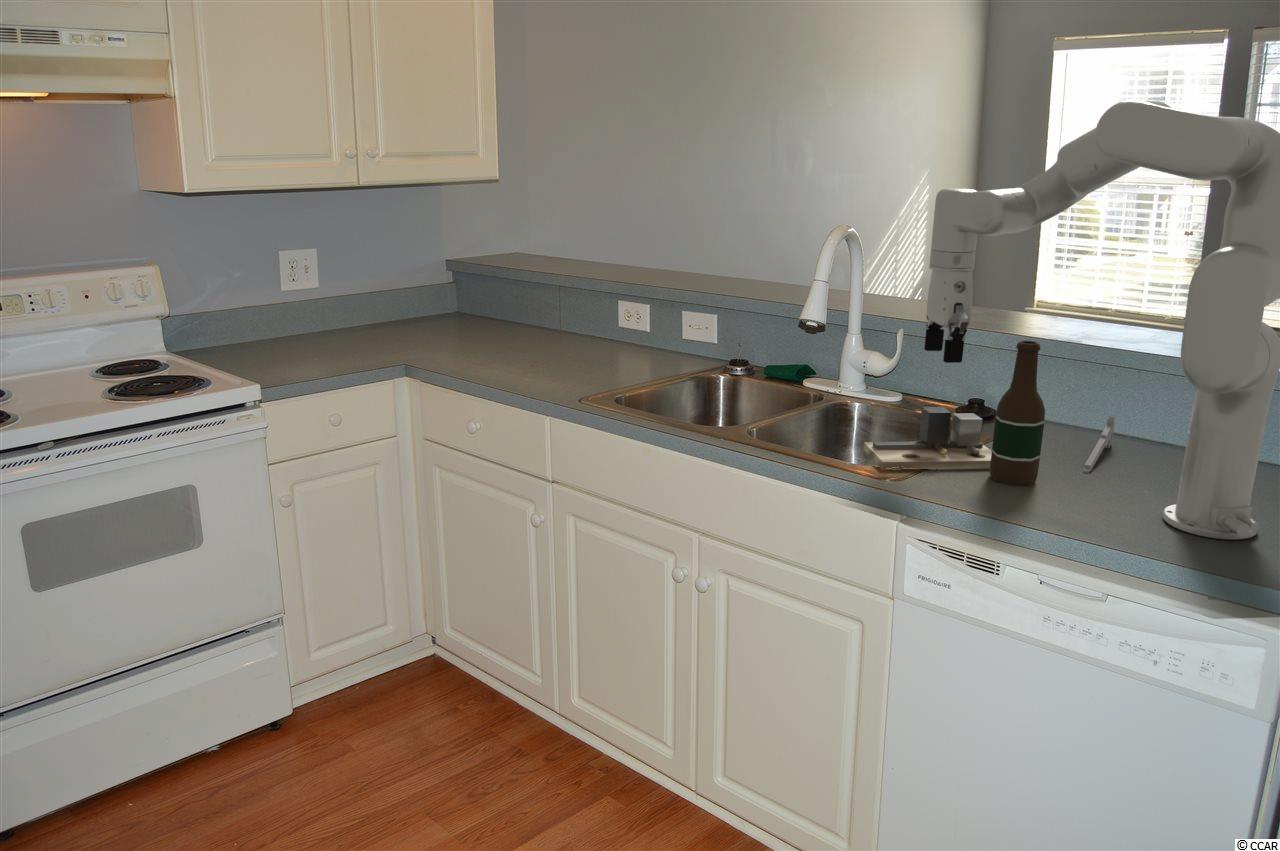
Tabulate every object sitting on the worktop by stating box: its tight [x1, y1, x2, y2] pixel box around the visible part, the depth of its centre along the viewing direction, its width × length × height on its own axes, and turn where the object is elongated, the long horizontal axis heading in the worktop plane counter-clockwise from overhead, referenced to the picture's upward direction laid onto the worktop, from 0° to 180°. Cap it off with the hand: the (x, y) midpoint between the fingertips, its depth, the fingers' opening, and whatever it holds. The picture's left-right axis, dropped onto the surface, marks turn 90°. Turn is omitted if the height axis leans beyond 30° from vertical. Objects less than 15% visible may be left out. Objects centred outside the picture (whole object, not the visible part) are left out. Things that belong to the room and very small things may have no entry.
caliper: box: [1082, 416, 1116, 474], centre depth 183 cm, size 20×1×6 cm, turn 145°
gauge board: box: [862, 412, 992, 471], centre depth 182 cm, size 12×22×7 cm, turn 94°
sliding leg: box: [918, 406, 952, 455], centre depth 182 cm, size 8×4×7 cm, turn 4°
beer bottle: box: [989, 340, 1046, 487], centre depth 169 cm, size 8×8×24 cm
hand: (942, 356), depth 180 cm, fingers open, 9 cm apart
